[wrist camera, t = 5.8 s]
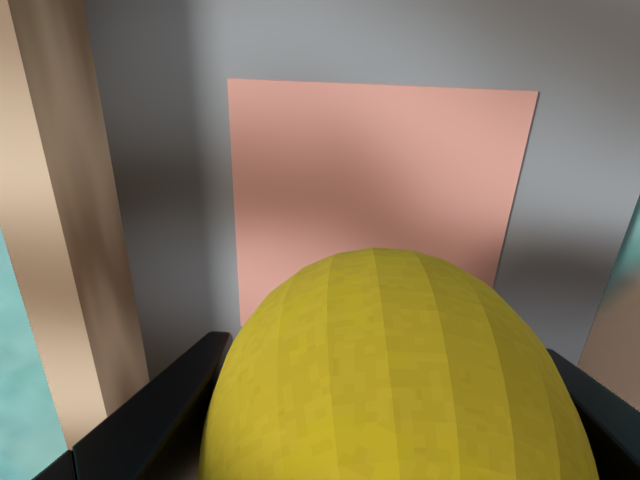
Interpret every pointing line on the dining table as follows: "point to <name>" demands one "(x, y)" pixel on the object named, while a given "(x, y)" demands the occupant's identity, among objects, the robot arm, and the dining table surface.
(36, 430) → the dining table surface
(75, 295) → the arena
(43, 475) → the robot arm
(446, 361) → the lemon
